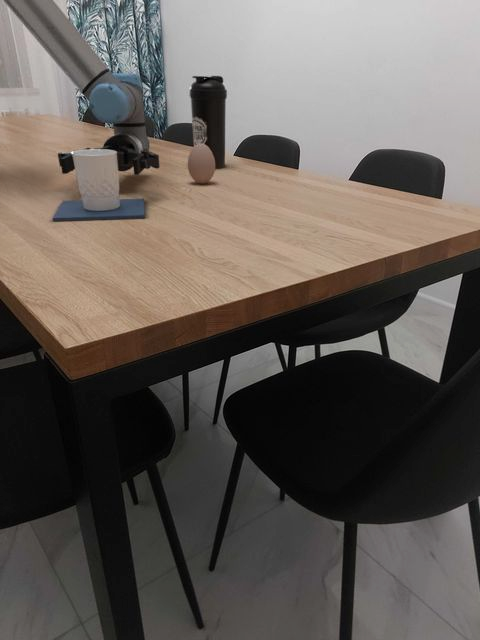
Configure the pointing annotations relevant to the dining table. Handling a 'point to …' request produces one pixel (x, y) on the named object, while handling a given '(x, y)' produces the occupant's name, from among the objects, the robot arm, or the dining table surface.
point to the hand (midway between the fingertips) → (99, 166)
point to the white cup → (97, 178)
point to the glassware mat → (77, 212)
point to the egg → (201, 163)
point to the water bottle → (209, 115)
